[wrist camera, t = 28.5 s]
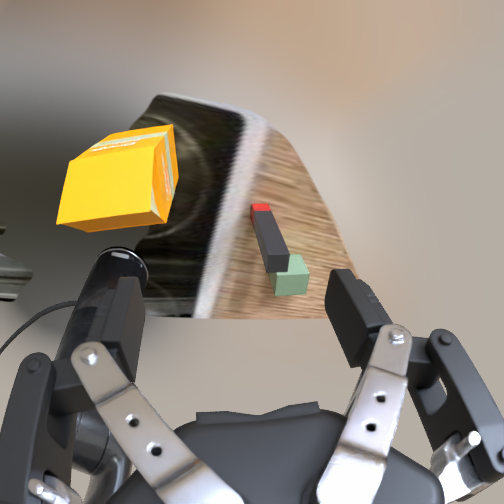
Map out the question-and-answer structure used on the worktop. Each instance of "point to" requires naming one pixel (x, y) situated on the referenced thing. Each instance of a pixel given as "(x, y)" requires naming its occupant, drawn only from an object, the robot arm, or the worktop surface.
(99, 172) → the orange juice
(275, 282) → the block
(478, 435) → the robot arm
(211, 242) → the worktop surface
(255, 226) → the marker
